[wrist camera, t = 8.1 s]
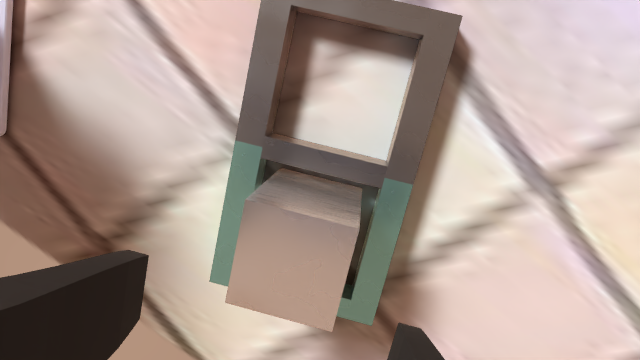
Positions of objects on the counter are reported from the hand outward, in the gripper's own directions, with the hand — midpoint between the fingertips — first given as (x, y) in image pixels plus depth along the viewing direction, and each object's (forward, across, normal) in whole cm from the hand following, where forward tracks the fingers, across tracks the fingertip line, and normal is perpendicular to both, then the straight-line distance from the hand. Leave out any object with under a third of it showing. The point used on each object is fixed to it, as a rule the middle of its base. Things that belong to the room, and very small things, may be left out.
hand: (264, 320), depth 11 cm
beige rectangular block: (+9, 0, 0) cm, 9 cm away
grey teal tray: (+9, 0, -3) cm, 10 cm away
